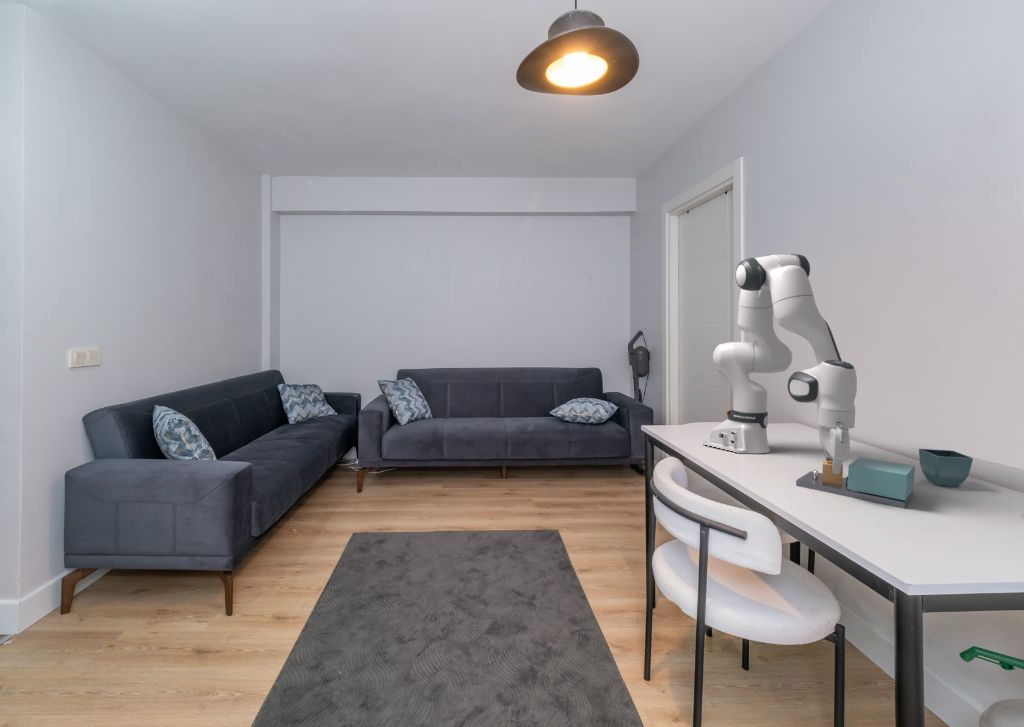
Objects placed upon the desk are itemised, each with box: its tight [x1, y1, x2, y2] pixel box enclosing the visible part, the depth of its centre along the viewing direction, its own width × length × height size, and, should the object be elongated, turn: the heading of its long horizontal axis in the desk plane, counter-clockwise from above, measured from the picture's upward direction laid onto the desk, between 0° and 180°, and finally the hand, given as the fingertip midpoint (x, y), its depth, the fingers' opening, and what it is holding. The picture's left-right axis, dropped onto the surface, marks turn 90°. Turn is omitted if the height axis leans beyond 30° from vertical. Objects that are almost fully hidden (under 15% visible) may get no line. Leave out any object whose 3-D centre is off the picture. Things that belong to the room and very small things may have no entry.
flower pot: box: [918, 448, 974, 488], centre depth 140 cm, size 9×9×9 cm
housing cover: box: [847, 456, 916, 500], centre depth 129 cm, size 12×12×6 cm
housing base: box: [795, 470, 915, 509], centre depth 134 cm, size 24×13×6 cm, turn 43°
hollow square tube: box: [821, 459, 844, 485], centre depth 137 cm, size 5×5×5 cm
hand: (832, 468), depth 138 cm, fingers open, 8 cm apart
